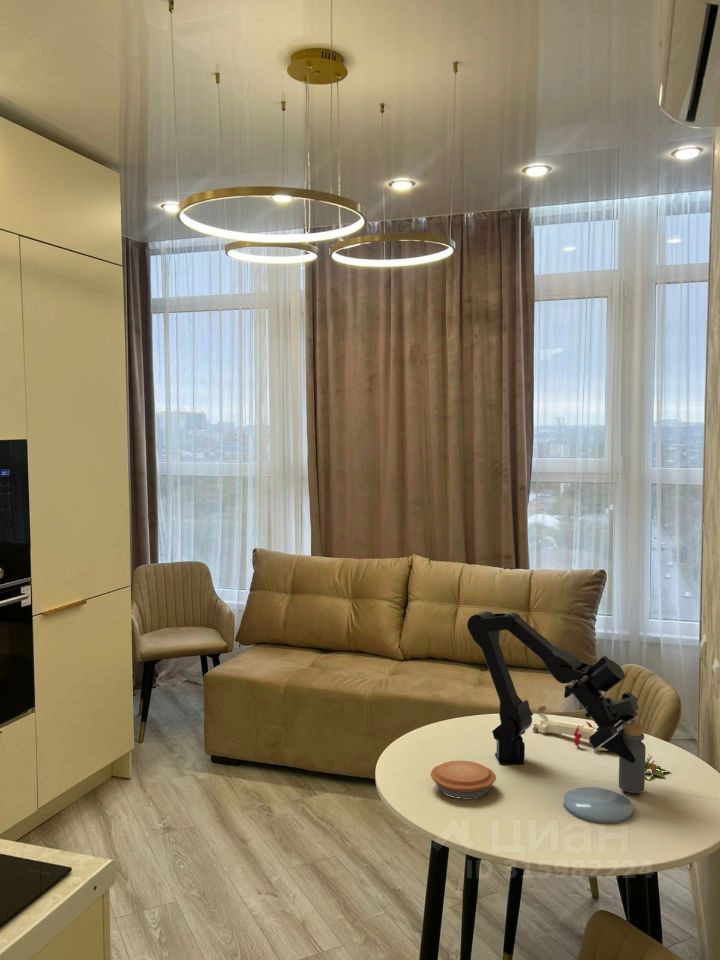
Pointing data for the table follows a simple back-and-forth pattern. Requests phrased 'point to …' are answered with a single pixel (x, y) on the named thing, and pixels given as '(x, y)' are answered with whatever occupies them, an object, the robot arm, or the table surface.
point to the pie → (463, 778)
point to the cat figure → (565, 728)
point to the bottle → (635, 772)
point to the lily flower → (654, 769)
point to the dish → (598, 805)
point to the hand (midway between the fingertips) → (638, 757)
